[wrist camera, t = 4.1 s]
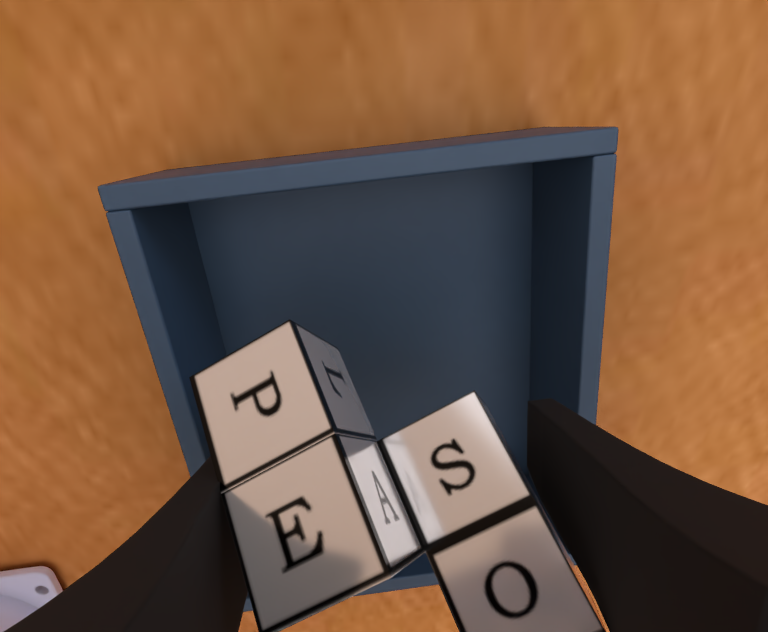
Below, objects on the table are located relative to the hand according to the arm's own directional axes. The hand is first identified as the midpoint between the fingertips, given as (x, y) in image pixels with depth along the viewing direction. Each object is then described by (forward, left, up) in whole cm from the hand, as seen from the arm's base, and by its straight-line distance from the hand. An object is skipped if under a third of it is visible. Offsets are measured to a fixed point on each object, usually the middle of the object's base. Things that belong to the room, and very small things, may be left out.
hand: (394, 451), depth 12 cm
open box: (0, 0, -6) cm, 6 cm away
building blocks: (0, 0, -2) cm, 2 cm away
